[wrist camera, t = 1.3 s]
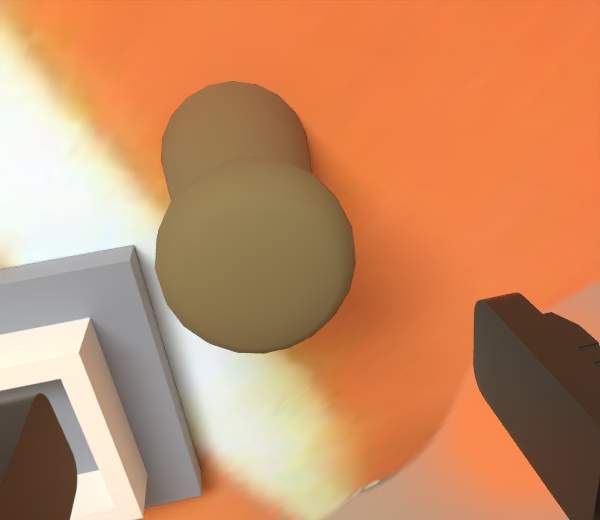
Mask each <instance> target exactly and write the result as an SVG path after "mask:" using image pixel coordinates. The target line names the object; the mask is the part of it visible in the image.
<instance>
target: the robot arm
mask: <svg viewBox="0 0 600 520" xmlns="http://www.w3.org/2000/svg"><path fill="white" fill-rule="evenodd" d="M473 366H474V374H475V378H476V381H477V385H478V387H479V390H480V392H481V394H482V395H483V397H484V399H485V400H486V402H487V403H488V404H489V406H490V407H491V409H492V410H493V412H494V413H495V414H496V416H497V417H498V419H499V420H500V421H501V423H502V424H503V426H504V427H505V429H506V430H507V431H508V433H509V434H510V436H511V437H512V438H513V440H514V441H515V443H516V444H517V446H518V447H519V449H520V450H521V451H522V453H523V454H524V456H525V457H526V458H527V460H528V461H529V463H530V464H531V465H532V467H533V468H534V469H535V471H536V473H537V474H538V475H539V477H540V478H541V480H542V481H543V483H544V484H545V485H546V487H547V488H548V490H549V491H550V493H551V494H552V495H553V497H554V498H555V500H556V501H557V503H558V504H559V505H560V507H561V508H562V509H563V511H564V512H565V513H566V515H567V517H568V518H569V519H570V520H600V346H599V343H598V342H597V341H596V340H595V339H594V338H593V337H592V336H591V335H590V334H588V333H587V332H586V331H585V330H584V329H583V328H582V327H580V326H579V325H578V324H576V323H574V322H571V321H569V320H567V319H565V318H563V317H561V316H559V315H556V314H554V313H552V312H550V313H545V314H542V313H541V312H540V311H539V310H538V309H537V308H536V307H534V306H533V305H532V304H531V303H530V302H529V301H528V300H527V299H526V298H525V297H524V296H523V295H521V294H520V293H511V294H506V295H502V296H497V297H492V298H488V299H483V300H479V301H477V303H476V305H475V309H474V358H473ZM76 490H77V467H76V462H75V458H74V455H73V452H72V450H71V448H70V445H69V443H68V441H67V439H66V437H65V434H64V432H63V430H62V428H61V426H60V423H59V421H58V419H57V417H56V414H55V412H54V410H53V408H52V406H51V403H50V401H49V400H48V398H47V397H46V396H45V395H44V394H42V393H39V394H35V395H30V396H25V397H21V398H16V399H11V400H7V401H2V402H0V520H70V517H71V513H72V508H73V504H74V500H75V495H76Z"/></svg>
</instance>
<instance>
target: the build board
mask: <svg viewBox="0 0 600 520" xmlns="http://www.w3.org/2000/svg"><path fill="white" fill-rule="evenodd" d="M39 393H42V394H44V395H45V396H46V397H47V398H48V400H49V401H50V403H51V406H52V408H53V410H54V412H55V414H56V417H57V419H58V421H59V423H60V426H61V428H62V430H63V432H64V434H65V437H66V439H67V441H68V443H69V445H70V448H71V450H72V452H73V455H74V458H75V462H76V467H77V490H76V495H75V500H74V504H73V508H72V513H71V517H70V520H135V519H139V518H143V514H144V508H148V507H152V506H157V505H161V504H166V503H170V502H175V501H179V500H184V499H188V498H193V497H197V496H202V473H201V469H200V466H199V463H198V459H197V456H196V452H195V449H194V446H193V442H192V439H191V436H190V432H189V429H188V426H187V422H186V419H185V416H184V412H183V409H182V406H181V402H180V399H179V396H178V392H177V389H176V386H175V382H174V379H173V376H172V372H171V369H170V366H169V362H168V359H167V356H166V352H165V349H164V345H163V342H162V339H161V335H160V332H159V329H158V325H157V322H156V319H155V315H154V312H153V309H152V305H151V302H150V299H149V295H148V292H147V289H146V285H145V282H144V279H143V275H142V272H141V269H140V265H139V262H138V259H137V255H136V252H135V248H134V245H131V246H125V247H120V248H114V249H109V250H103V251H98V252H92V253H87V254H81V255H76V256H70V257H65V258H59V259H54V260H48V261H43V262H37V263H32V264H26V265H21V266H15V267H10V268H4V269H0V402H2V401H7V400H11V399H16V398H21V397H25V396H30V395H35V394H39Z"/></svg>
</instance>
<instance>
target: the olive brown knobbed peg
mask: <svg viewBox="0 0 600 520" xmlns="http://www.w3.org/2000/svg"><path fill="white" fill-rule="evenodd" d="M161 162H162V166H163V170H164V174H165V178H166V182H167V186H168V190H169V194H170V198H171V202H170V205H169V207H168V209H167V212H166V214H165V216H164V218H163V221H162V223H161V225H160V228H159V230H158V235H157V241H156V260H155V270H156V273H157V276H158V279H159V283H160V286H161V289H162V292H163V295H164V298H165V300H166V303H167V305H168V306H169V308H170V309H171V310H172V311H173V313H174V314H175V315H176V317H177V318H178V319H179V321H180V322H181V323H182V325H183V326H184V327H186V328H187V329H188V330H190V331H191V332H193V333H194V334H196V335H197V336H199V337H200V338H202V339H203V340H205V341H206V342H208V343H210V344H212V345H215V346H218V347H222V348H225V349H228V350H231V351H234V352H237V353H263V354H264V353H268V352H273V351H277V350H282V349H286V348H290V347H292V346H294V345H296V344H298V343H300V342H302V341H304V340H306V339H307V338H309V337H311V336H313V335H314V334H315V333H316V332H317V331H318V330H319V329H321V328H322V327H323V326H324V325H325V324H326V323H327V322H328V321H329V320H330V319H331V318H332V317H333V316H334V315H335V314H336V312H337V311H338V309H339V307H340V306H341V304H342V302H343V301H344V299H345V297H346V295H347V294H348V292H349V290H350V286H351V282H352V277H353V273H354V268H355V249H354V241H353V232H352V226H351V224H350V222H349V220H348V218H347V217H346V215H345V213H344V211H343V209H342V207H341V205H340V203H339V201H338V200H337V198H336V197H335V195H334V194H333V193H332V192H331V191H330V190H329V189H328V188H327V187H326V186H325V185H324V184H323V183H322V182H321V181H319V180H318V179H317V178H316V177H315V176H314V175H313V174H312V169H311V163H310V157H309V151H308V144H307V138H306V132H305V130H304V128H303V126H302V124H301V122H300V120H299V119H298V117H297V115H296V113H295V111H294V110H293V109H292V108H291V107H290V106H289V105H288V104H287V103H286V102H285V101H284V100H283V99H282V98H281V97H280V96H279V95H277V94H275V93H273V92H271V91H269V90H267V89H265V88H263V87H261V86H259V85H256V84H249V83H242V82H234V81H231V82H226V83H221V84H215V85H210V86H207V87H205V88H204V89H202V90H200V91H198V92H197V93H195V94H193V95H191V96H189V97H188V98H187V99H186V100H185V101H184V102H183V103H182V104H181V105H180V106H179V108H178V109H177V110H176V111H175V112H174V113H173V114H172V116H171V118H170V120H169V123H168V125H167V127H166V130H165V132H164V135H163V137H162V153H161Z"/></svg>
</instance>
